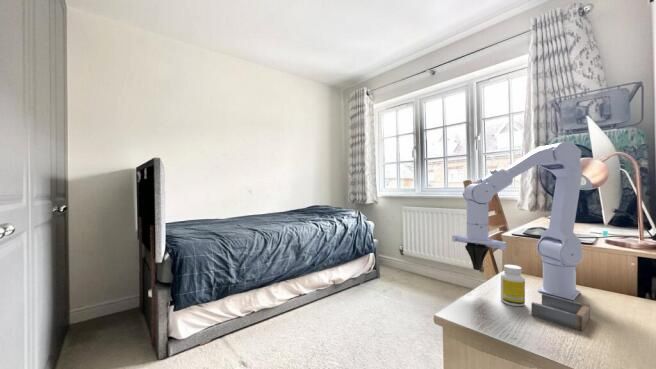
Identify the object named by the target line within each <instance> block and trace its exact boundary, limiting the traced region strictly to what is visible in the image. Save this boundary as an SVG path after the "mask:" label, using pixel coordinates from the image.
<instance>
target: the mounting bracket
mask: <svg viewBox="0 0 656 369" xmlns="http://www.w3.org/2000/svg"><path fill="white" fill-rule="evenodd" d="M530 305H531V310H530V311H531V316H533V317H535V318H539V319H542V320H545V321H548V322H551V323H554V324H556V325H557V324H558V325H560V326H563V327H567V328H569V329H573V330H577V331H579V332H582V331H583V329H584V328H585V327H586V325H587V323H588V322H589V320H590V319H591V307H590V306H591V305H589V304H585V303H582V302H578V301H574V300H570V299H566V298H562V297H558V296H554V295H551V294H547V293H542V294H541V303H537V302H534V301H532V302H531V304H530Z"/></svg>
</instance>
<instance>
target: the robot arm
mask: <svg viewBox="0 0 656 369" xmlns="http://www.w3.org/2000/svg"><path fill="white" fill-rule="evenodd" d="M581 158H582V150H581V148H579V147H578V146H577V145H576V144H575V143H574V142H572V141H562V142H558V143H553V144H548V145H540V146H537V147H536V148H535V149H532V150H530V151H529V152H528V153H526V154H525V155H524V156H522V157H521V158H520V159H517V160H516V161H515V162H514V163H512V164H510V165H509V166H507V167H506V168H505V169H503V168H497V169H496V168H493V169H491V170H489V174H487V175H485V177H483V178H478V179H476V183H470V184H469V185H467V186H465V189H464V190H463V191H464V192H462V196H463V199H464V200H465V201H466V235H462V234H461V235H460V234H451V241H452V242H454V243H455V242H456V243H457V242H458V243H463V244H464V243H465V244H466V245H464V248H465V250H466V252H467V254H468V256H469V258H470V260H471V264H472V268H473V270H475V271H480V270H482V268H483V267H482V266H483V263H484V260H485V258H486V255H487V254H488V252H489V251H490V250H491V249H490V248H493V249H498V250H501V251H505V250H507V241H501V240H496V239H491V238H489V203H490V202H491V201H492V199H493V198H494V196H495V195H497V194H498V193H499V192H501V191H502V190H504V189H506V188H507V187H510V186H511V185H512V184H513V180H514V179H515V178H517V177H518V176H519V175H521V174H523V173H525V172H527V171H528V170H530V169H532V168H534V167H535V166H539V167H541V168H543V169H545V170H546V171H549V172H550V173H551V174H553V175H554V176H555V179H556V180H555V185H554V186H555V187H554V193H553V197H552V198H553V199H552V205H551V212H550V217H549V225H548V228H547V229H545V230H544V231H542V232H541V235H540V238H539V240H538V241H537V243H536V246H535V247H536V251H537V253H538V254H539V256H541V257H540V258H541V260H542V286H541V287H539V288H538V289H537V292H539V293H542V294H547V295H551V296H555V297H558V298H562V299H566V300H570V301H574V300H575V299H576V298H577V296H579V294H580V293H581V290H580V289H577V271H576V270H577V269H576V267H578V264H579V263H581V262H582V259H583V249H582V246H581V245H582V240H581V239H580V237H578V236H577V234H575V232H574V230H575V224H576V223H575V222H576V216H577V209H578V203H579V198H580V190H581V184H582V176H583V169H582V165H581Z"/></svg>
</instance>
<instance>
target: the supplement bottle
mask: <svg viewBox="0 0 656 369" xmlns="http://www.w3.org/2000/svg"><path fill="white" fill-rule="evenodd" d="M522 270H523V269H522V267H521V266H520V265H515V264H504V265H503V271H504V272H501V274H500V300H501V302H502V303H505V304H506V305H508V306H512V307H513V306H514V307H524V306H525V302H526V298H525V297H526V296H525V295H526V282H525V281H526V280H525V279H526V278H525V277H524V275H522V272H523V271H522Z"/></svg>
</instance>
